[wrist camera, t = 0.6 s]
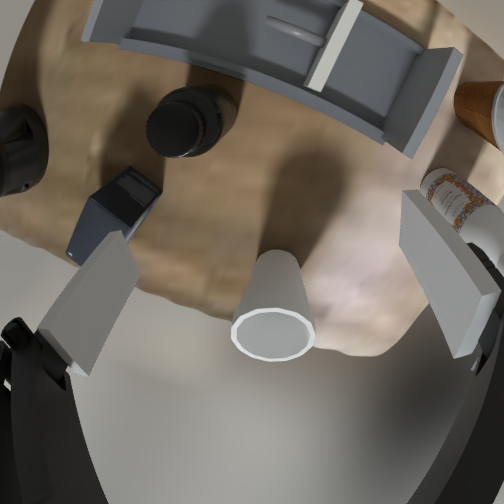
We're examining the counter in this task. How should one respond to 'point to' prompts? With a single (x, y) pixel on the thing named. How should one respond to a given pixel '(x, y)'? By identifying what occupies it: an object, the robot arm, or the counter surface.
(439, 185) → the bath foam
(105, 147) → the counter surface
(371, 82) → the tray
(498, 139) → the disposable coffee cup
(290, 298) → the foam cup
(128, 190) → the small box
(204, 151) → the supplement bottle
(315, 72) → the pusher
